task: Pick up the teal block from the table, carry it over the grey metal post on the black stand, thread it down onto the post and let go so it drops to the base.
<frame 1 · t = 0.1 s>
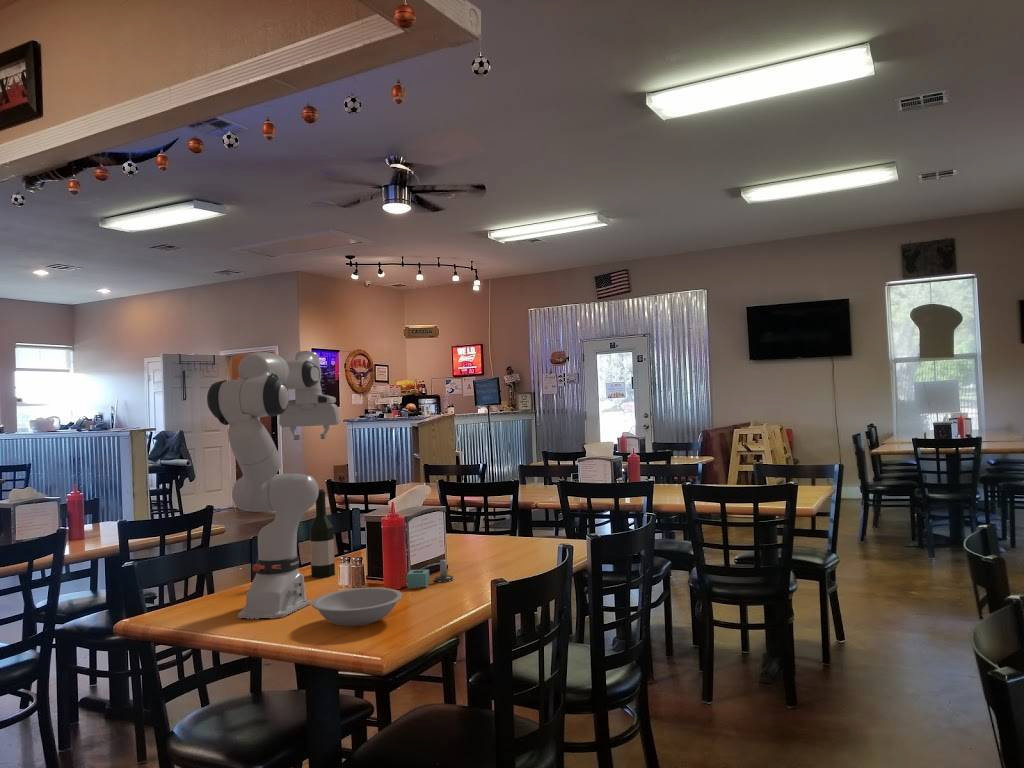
hand: (310, 439, 257), 48 cm above the table, tool pointing down, fingers open, 8 cm apart
teal block: (418, 585, 241), on the table
soup bowl: (358, 623, 202), on the table
wine bottle: (323, 575, 263), on the table
post stand: (444, 580, 248), on the table
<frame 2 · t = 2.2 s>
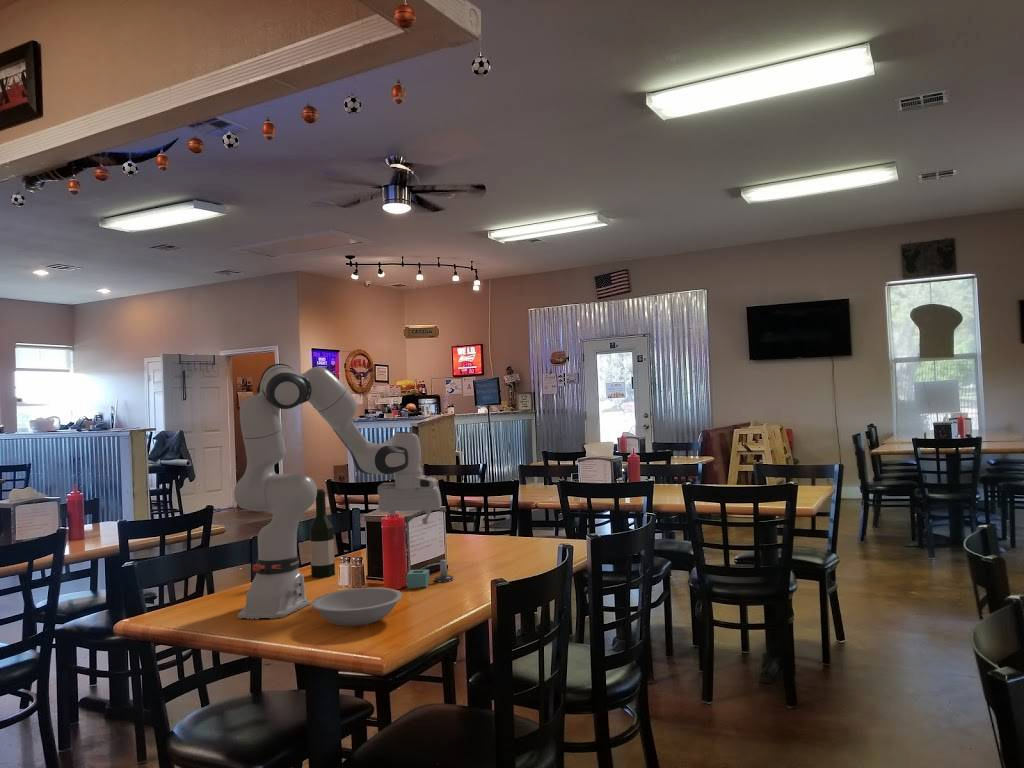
hand: (411, 524, 243), 20 cm above the table, tool pointing down, fingers open, 8 cm apart
nothing on the table moved.
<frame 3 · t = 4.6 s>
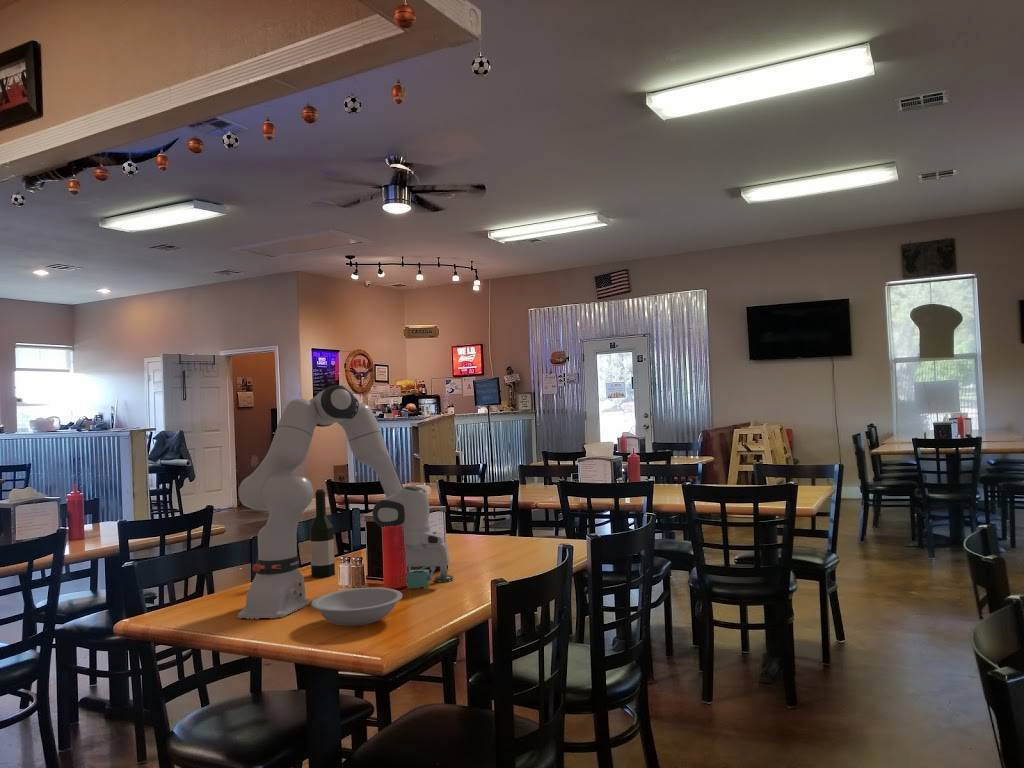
hand: (418, 580, 241), 2 cm above the table, tool pointing down, fingers closed on teal block, 6 cm apart
teal block: (418, 585, 241), on the table, touching gripper
everything else where it was.
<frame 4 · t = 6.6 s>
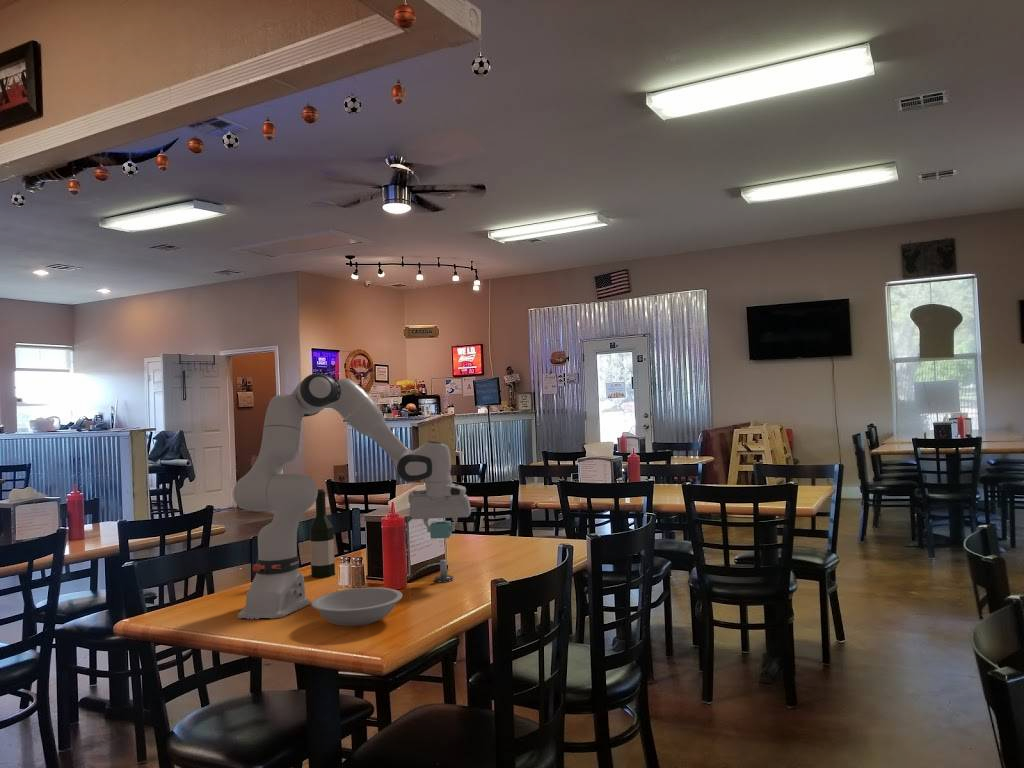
hand: (441, 531, 249), 16 cm above the table, tool pointing down, fingers closed on teal block, 6 cm apart
teal block: (441, 536, 249), point 14 cm above the table, touching gripper
everything else where it was.
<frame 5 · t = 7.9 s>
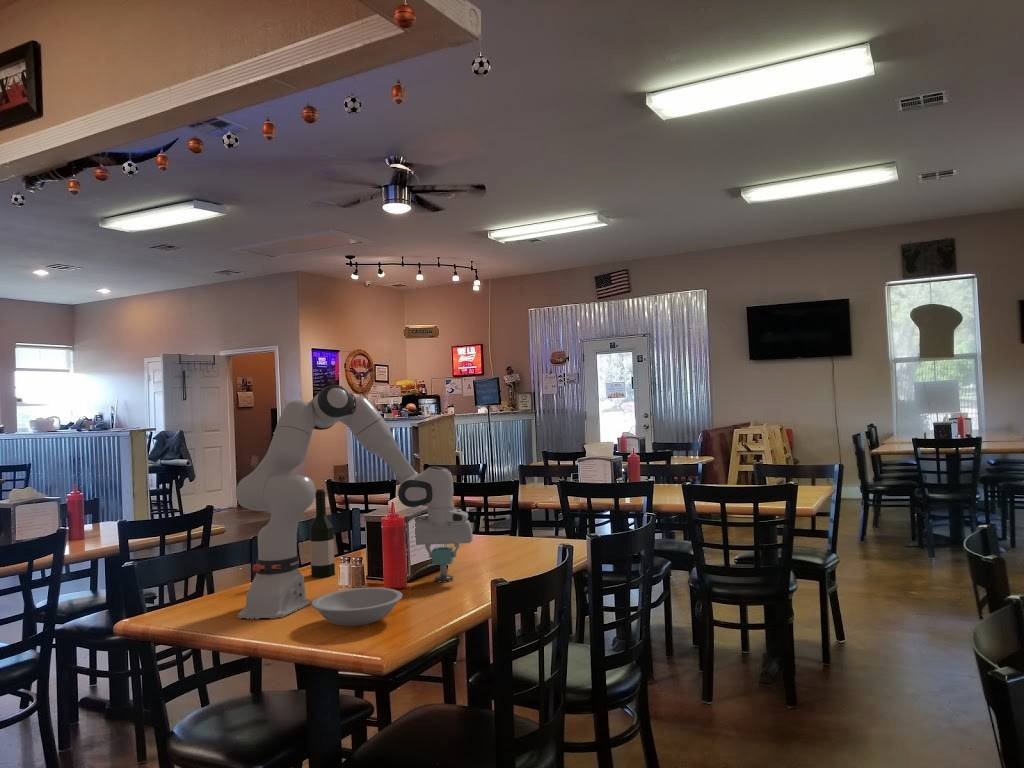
hand: (443, 557, 248), 7 cm above the table, tool pointing down, fingers closed on teal block, 6 cm apart
teal block: (443, 562, 248), point 6 cm above the table, touching gripper
everything else where it was.
when the fingers open (5 cm above the table, at t = 8.8 s): teal block drops 2 cm, resting on post stand.
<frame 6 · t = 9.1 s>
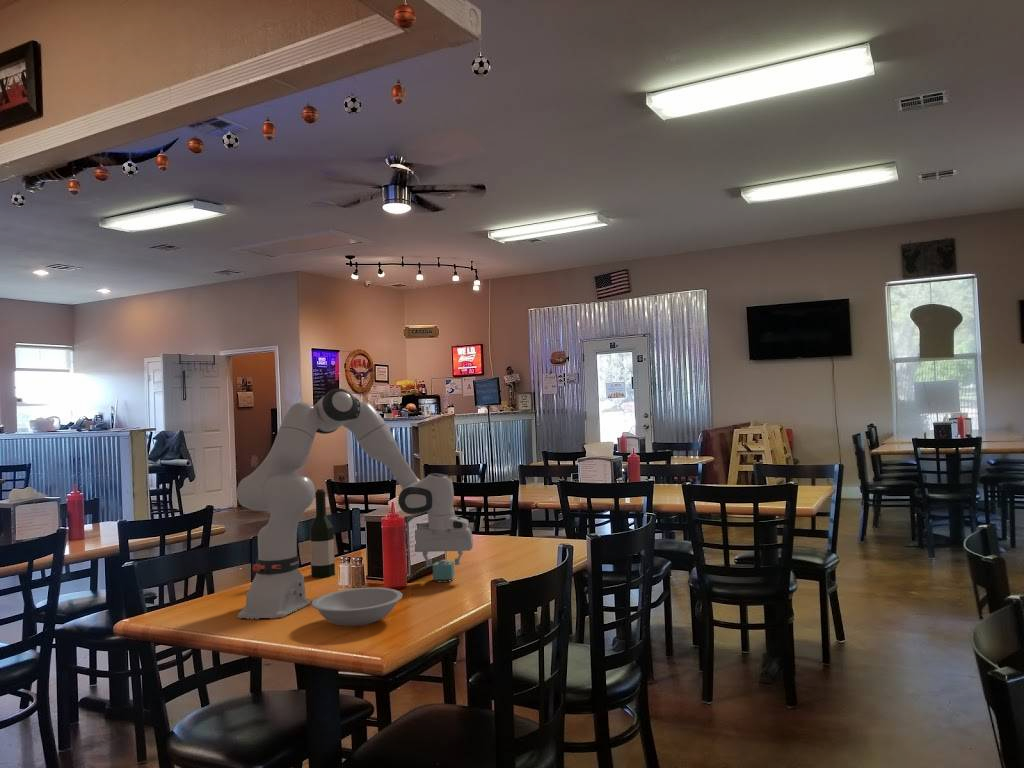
hand: (443, 564, 248), 5 cm above the table, tool pointing down, fingers open, 8 cm apart
teal block: (443, 577, 248), point 1 cm above the table, touching post stand
everything else where it was.
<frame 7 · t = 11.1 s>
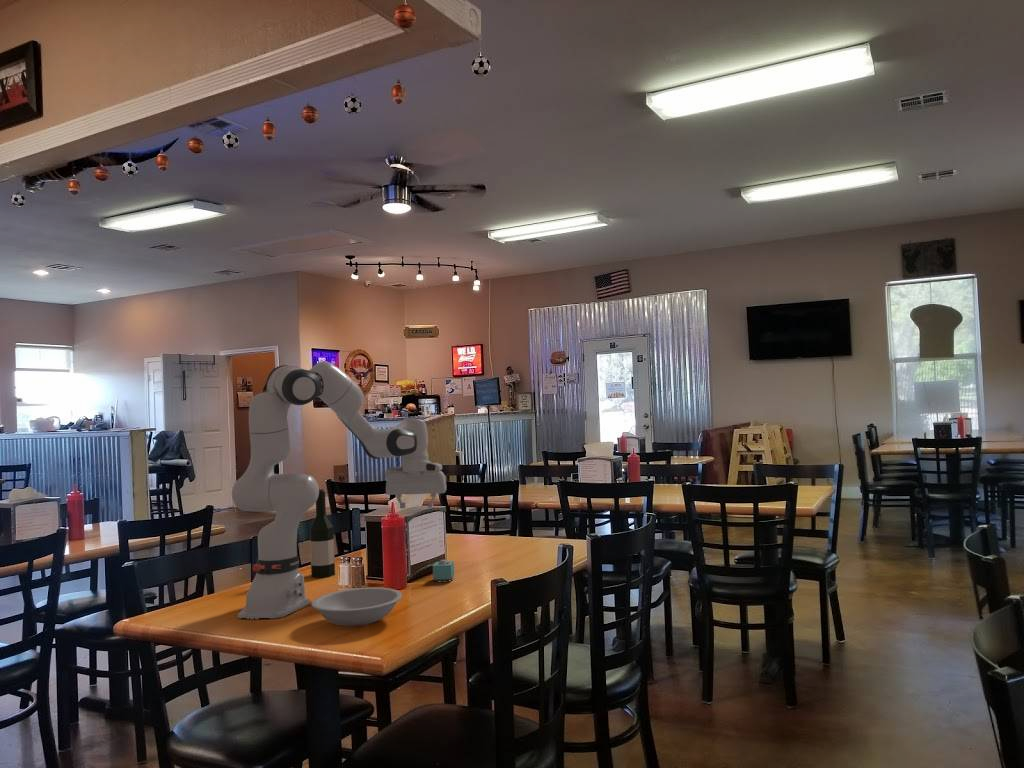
hand: (416, 507, 251), 24 cm above the table, tool pointing down, fingers open, 8 cm apart
nothing on the table moved.
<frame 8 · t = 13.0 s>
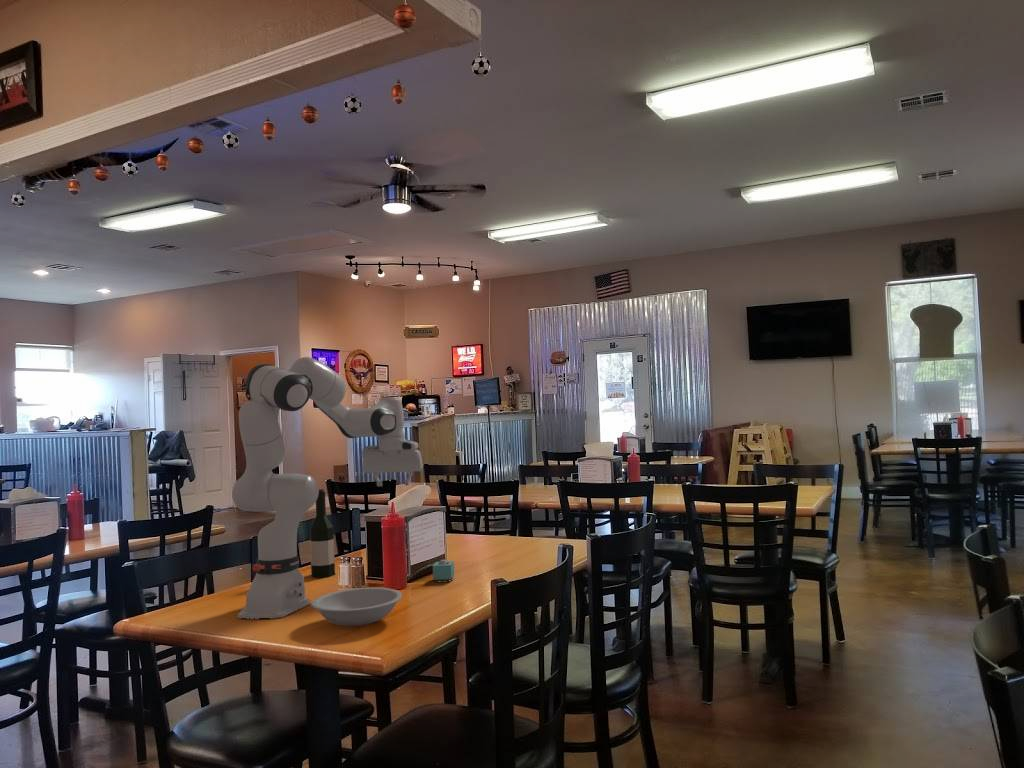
hand: (393, 485, 255), 31 cm above the table, tool pointing down, fingers open, 8 cm apart
nothing on the table moved.
at the end: teal block 0.1 cm off-centre on the post stand, point 1.0 cm above the post stand's base; the gripper is holding nothing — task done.
